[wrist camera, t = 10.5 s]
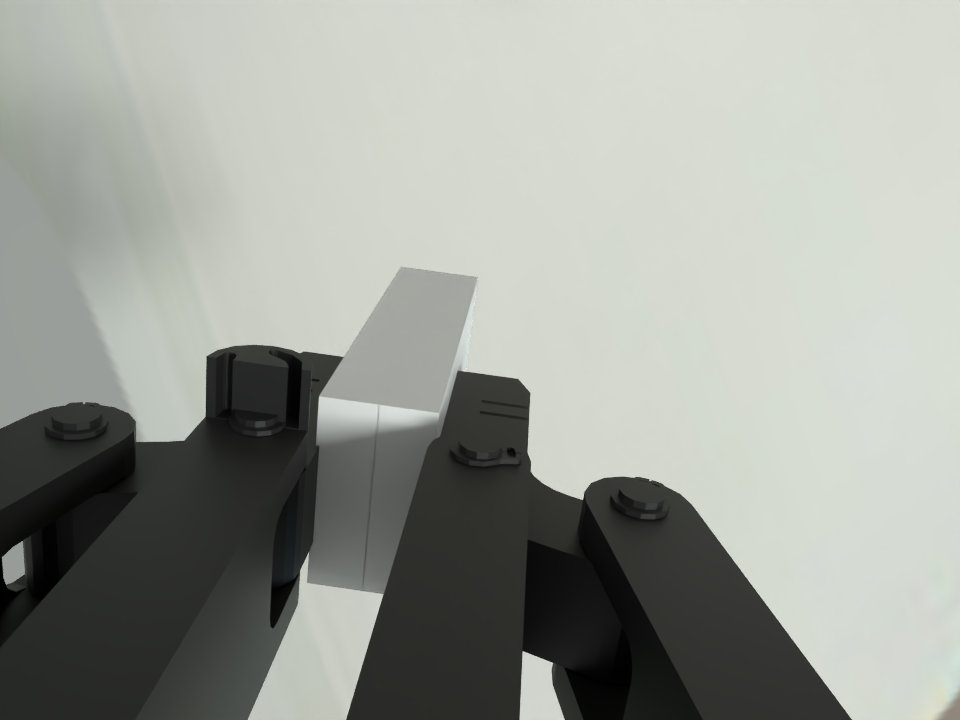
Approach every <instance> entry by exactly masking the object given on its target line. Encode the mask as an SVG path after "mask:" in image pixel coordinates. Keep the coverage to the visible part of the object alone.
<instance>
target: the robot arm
mask: <svg viewBox="0 0 960 720" xmlns="http://www.w3.org/2000/svg"><path fill="white" fill-rule="evenodd" d="M477 283H478V277H471V276H464V275H457V274H449V273H442V272H435V271H428V270H420V269H413V268H406V267H401V268H400V269H399V271H398V273H397V274H396V276H395V277H394V279H393V280H392V282H391V284H390V285H389V287H388V288H387V290H386V291H385V293H384V295H383V296H382V298H381V299H380V301H379V303H378V304H377V306H376V307H375V309H374V310H373V312H372V314H371V315H370V317H369V318H368V320H367V321H366V323H365V325H364V326H363V328H362V329H361V331H360V332H359V334H358V336H357V337H356V339H355V340H354V342H353V343H352V345H351V347H350V348H349V350H348V351H347V353H346V355H345V356H344V357H340V356H332V355H325V354H318V353H311V352H302V353H297V352H295V351H293V350H289V349H284V348H280V347H275V346H263V345H245V346H233V347H229V348H225V349H221V350H217V351H215V352H214V353H212V354H210V355H208V356H207V369H206V417H205V418H204V419H203V420H202V421H201V423H200V424H199V425H198V426H197V427H196V428H195V429H194V430H193V432H192V433H191V434H190V435H189V436H188V437H187V438H186V439H185V441H173V442H136V421H135V420H134V419H133V418H132V417H131V416H130V414H129V413H126V412H124V411H122V410H119V409H117V408H114V407H108V406H102V405H99V404H97V403H88V402H87V403H85V404H83V403H82V402H80V403H69V404H67V405H66V406H59V407H53V408H49V409H46V410H43V411H40V412H37V413H34V414H31V415H29V416H27V417H25V418H23V419H20V420H19V421H16V422H14V423H12V424H10V425H8V426H6V427H3V428H1V429H0V720H248V717H249V715H250V713H251V710H252V708H253V706H254V704H255V701H256V699H257V697H258V694H259V692H260V690H261V687H262V685H263V683H264V681H265V678H266V676H267V674H268V671H269V669H270V667H271V664H272V662H273V660H274V658H275V655H276V653H277V651H278V648H279V646H280V644H281V641H282V639H283V637H284V635H285V632H286V630H287V628H288V625H289V623H290V621H291V618H292V616H293V614H294V612H295V609H296V607H297V605H298V595H299V580H300V569H301V567H302V565H303V563H304V561H305V559H306V557H307V554H308V552H309V562H308V578H307V583H312V584H319V585H326V586H333V587H339V588H346V589H353V590H360V591H367V592H374V593H380V594H384V595H383V598H382V602H381V605H380V608H379V612H378V615H377V618H376V622H375V625H374V628H373V632H372V635H371V639H370V642H369V645H368V649H367V652H366V655H365V659H364V662H363V665H362V669H361V672H360V675H359V679H358V682H357V685H356V689H355V692H354V696H353V699H352V702H351V706H350V709H349V712H348V716H347V719H346V720H519V716H520V694H521V672H522V651H524V652H527V653H529V654H532V655H534V656H537V657H540V658H542V659H545V660H547V661H550V662H552V663H553V667H552V681H553V686H554V689H555V692H556V695H557V698H558V701H559V704H560V707H561V710H562V713H563V716H564V718H565V720H852V719H851V718H850V717H849V715H848V714H847V713H846V711H845V710H844V709H843V707H842V706H841V705H840V703H839V702H838V701H837V699H836V698H835V696H834V695H833V694H832V692H831V691H830V690H829V688H828V687H827V686H826V684H825V683H824V682H823V680H822V679H821V678H820V676H819V675H818V674H817V672H816V671H815V670H814V668H813V667H812V666H811V664H810V663H809V662H808V660H807V659H806V658H805V656H804V655H803V653H802V652H801V651H800V649H799V648H798V647H797V645H796V644H795V643H794V641H793V640H792V639H791V637H790V636H789V635H788V633H787V632H786V631H785V629H784V628H783V627H782V625H781V624H780V623H779V621H778V620H777V619H776V617H775V616H774V615H773V613H772V612H771V611H770V609H769V608H768V606H767V605H766V604H765V602H764V601H763V600H762V598H761V597H760V596H759V594H758V593H757V592H756V590H755V589H754V588H753V586H752V585H751V584H750V582H749V581H748V580H747V578H746V577H745V576H744V574H743V573H742V572H741V570H740V569H739V568H738V566H737V565H736V563H735V562H734V561H733V559H732V558H731V557H730V555H729V554H728V553H727V551H726V550H725V549H724V547H723V546H722V545H721V543H720V542H719V541H718V539H717V538H716V537H715V535H714V534H713V533H712V531H711V530H710V529H709V527H708V526H707V525H706V523H705V522H704V520H703V519H702V518H701V516H700V515H699V514H698V512H697V511H696V510H695V508H694V507H693V506H692V505H691V504H690V503H689V502H688V501H687V500H686V499H685V498H684V497H683V496H682V495H680V494H679V493H677V492H675V491H673V490H671V489H669V488H667V487H665V486H664V485H663V484H661V483H659V482H656V481H653V480H652V481H649V479H646V478H641V477H635V478H630V477H611V478H603V479H601V480H598V481H596V482H593V483H591V484H590V485H589V487H588V488H587V489H586V491H585V493H584V498H583V500H580V499H577V498H574V497H571V496H568V495H565V494H563V493H560V492H558V491H555V490H553V489H551V488H550V487H548V486H546V485H544V484H543V483H541V482H540V481H539V480H538V479H537V478H535V477H534V476H533V474H532V473H531V472H530V471H531V461H530V458H529V456H528V453H527V448H528V427H529V407H530V392H529V391H528V390H527V389H526V388H525V386H524V385H523V384H522V383H521V382H520V381H519V380H518V379H514V378H507V377H500V376H492V375H485V374H478V373H471V372H466V371H467V363H468V355H469V347H470V339H471V331H472V323H473V315H474V307H475V299H476V291H477ZM21 541H23V548H24V563H25V575H23V576H22V577H20V578H19V579H17V580H16V581H14V582H13V583H11V584H7V585H6V584H5V582H4V579H3V567H2V556H4V555H5V554H6V553H7V552H8V551H9V550H10V549H11V548H12V547H13V546H15V545H17V544H18V543H20V542H21Z"/></svg>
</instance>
